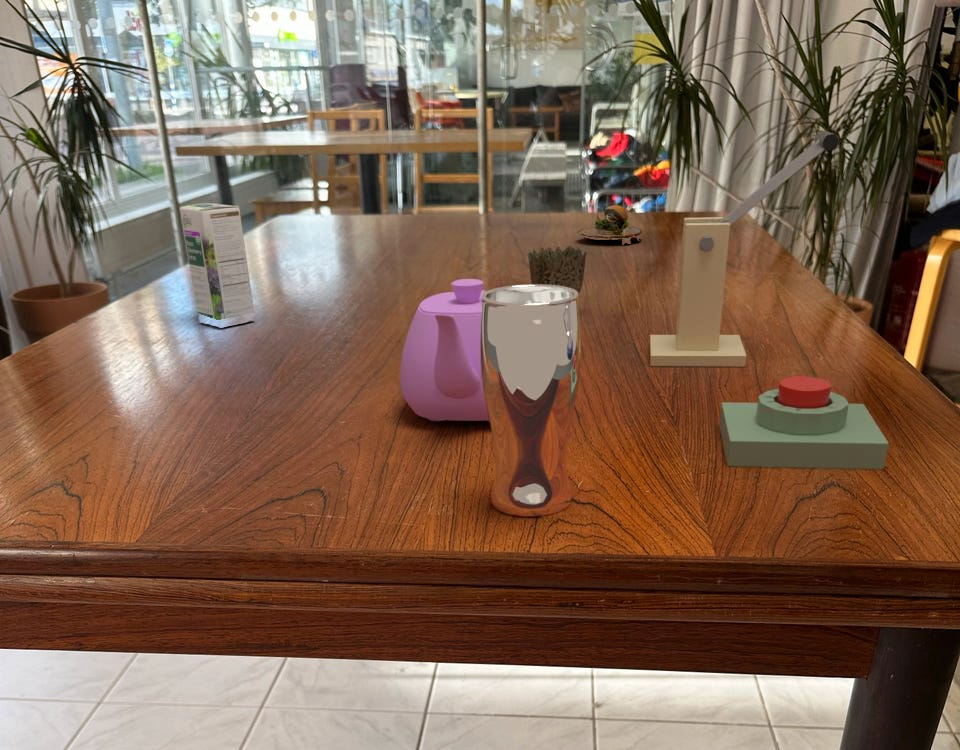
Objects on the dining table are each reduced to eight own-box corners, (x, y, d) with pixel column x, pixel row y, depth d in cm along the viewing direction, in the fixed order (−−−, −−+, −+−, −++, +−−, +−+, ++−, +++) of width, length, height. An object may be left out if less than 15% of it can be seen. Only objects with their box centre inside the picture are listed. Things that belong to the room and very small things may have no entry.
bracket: (738, 345, 107) (752, 213, 100) (745, 366, 100) (761, 226, 93) (649, 345, 109) (657, 215, 102) (649, 366, 101) (658, 227, 94)
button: (823, 397, 78) (827, 376, 78) (831, 412, 75) (835, 390, 74) (774, 397, 79) (776, 376, 78) (780, 411, 76) (782, 390, 75)
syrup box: (197, 324, 127) (175, 206, 119) (235, 315, 130) (216, 201, 123) (220, 330, 123) (199, 209, 116) (258, 321, 127) (240, 203, 119)
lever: (835, 143, 94) (822, 123, 93) (844, 147, 90) (830, 125, 89) (699, 253, 101) (686, 235, 100) (701, 262, 97) (688, 243, 96)
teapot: (425, 381, 99) (417, 263, 93) (550, 383, 97) (551, 262, 91) (375, 447, 83) (362, 307, 76) (526, 450, 80) (524, 308, 74)
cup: (520, 312, 126) (519, 248, 122) (572, 306, 128) (573, 243, 123) (540, 323, 120) (540, 256, 116) (593, 318, 121) (595, 251, 117)
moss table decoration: (570, 238, 178) (570, 195, 174) (630, 234, 179) (632, 191, 175) (587, 248, 168) (588, 202, 164) (651, 244, 169) (653, 198, 165)
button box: (859, 428, 82) (867, 382, 80) (884, 470, 74) (893, 420, 72) (718, 426, 84) (723, 381, 82) (727, 467, 76) (732, 418, 73)
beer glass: (500, 525, 67) (494, 308, 60) (474, 490, 73) (466, 288, 65) (591, 512, 69) (597, 298, 61) (559, 479, 75) (561, 280, 67)
